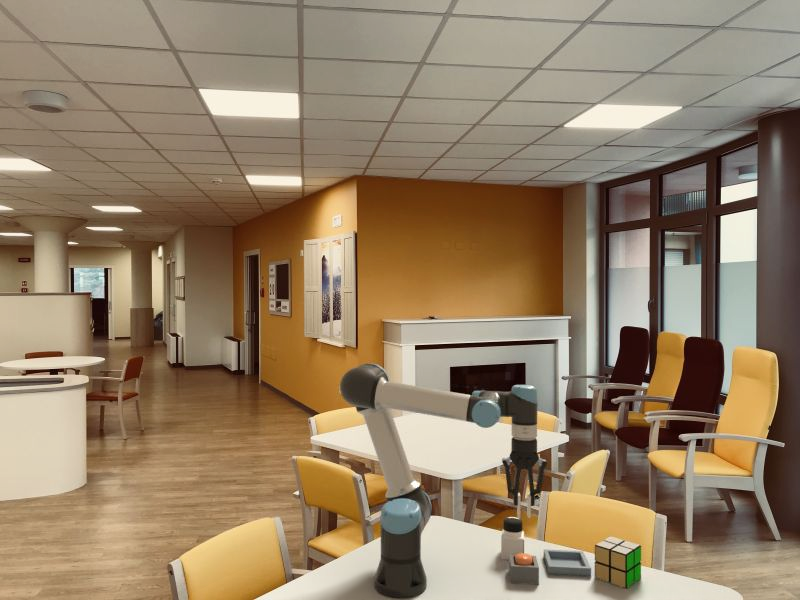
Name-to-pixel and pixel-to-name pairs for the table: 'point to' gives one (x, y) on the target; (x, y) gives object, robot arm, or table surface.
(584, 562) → the tray
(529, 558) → the button
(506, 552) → the medicine bottle
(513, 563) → the button housing
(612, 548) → the puzzle cube
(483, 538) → the table surface
